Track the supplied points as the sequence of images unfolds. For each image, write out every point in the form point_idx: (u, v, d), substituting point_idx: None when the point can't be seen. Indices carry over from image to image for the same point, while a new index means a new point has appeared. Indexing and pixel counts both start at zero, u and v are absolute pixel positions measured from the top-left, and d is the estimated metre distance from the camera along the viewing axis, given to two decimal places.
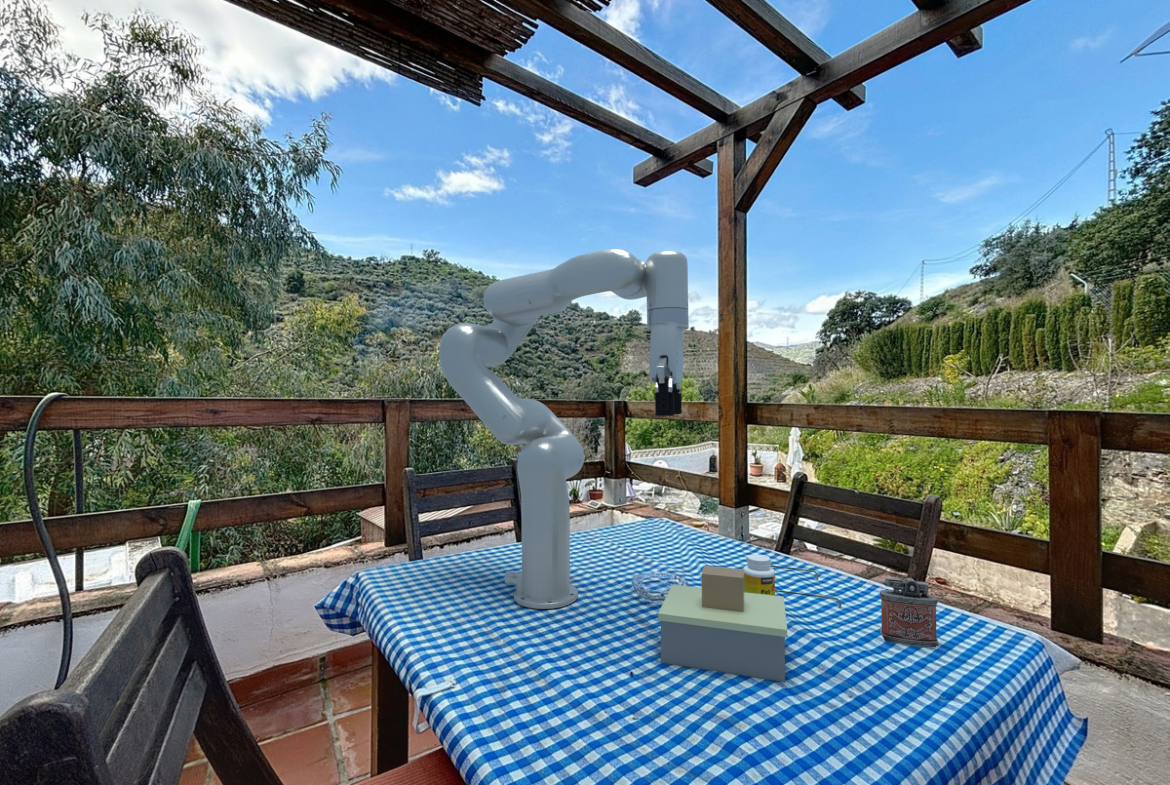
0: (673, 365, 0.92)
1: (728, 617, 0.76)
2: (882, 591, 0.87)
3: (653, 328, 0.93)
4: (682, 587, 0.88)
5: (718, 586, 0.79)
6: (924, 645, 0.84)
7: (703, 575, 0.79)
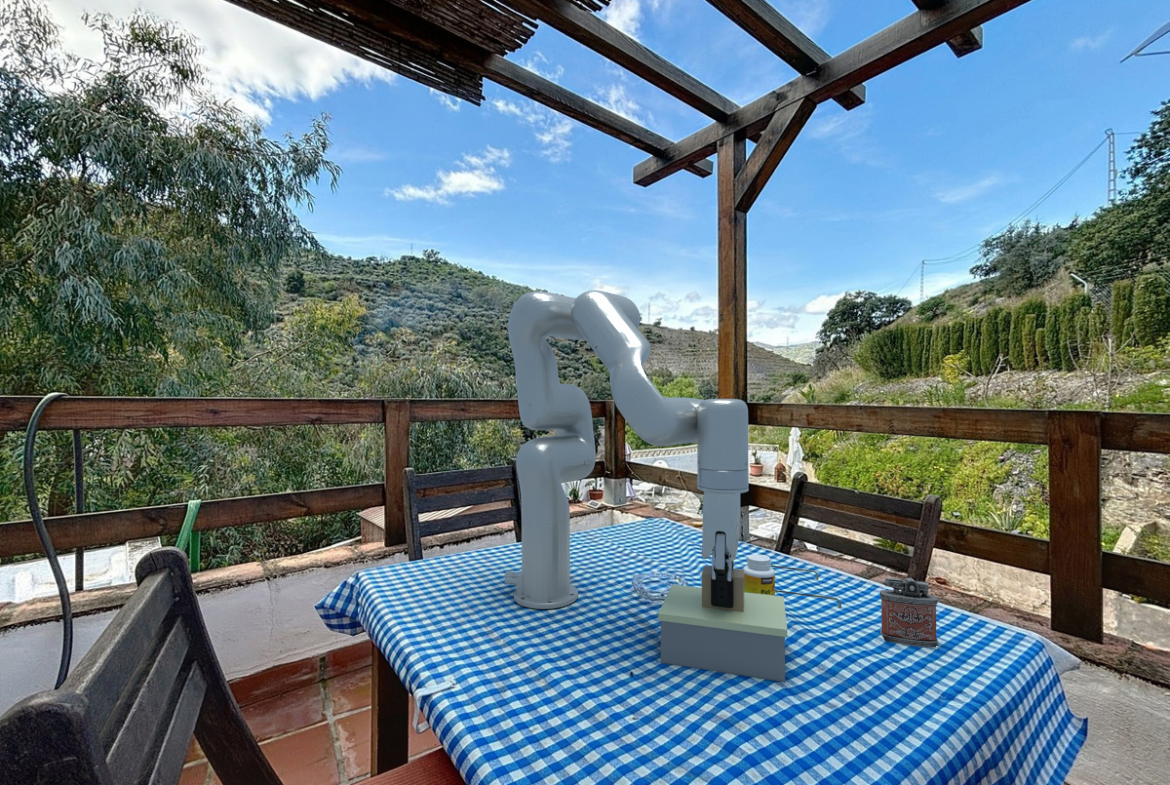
0: (732, 544, 0.75)
1: (728, 617, 0.76)
2: (882, 591, 0.88)
3: (707, 495, 0.77)
4: (682, 587, 0.88)
5: None
6: (924, 645, 0.84)
7: (703, 575, 0.79)
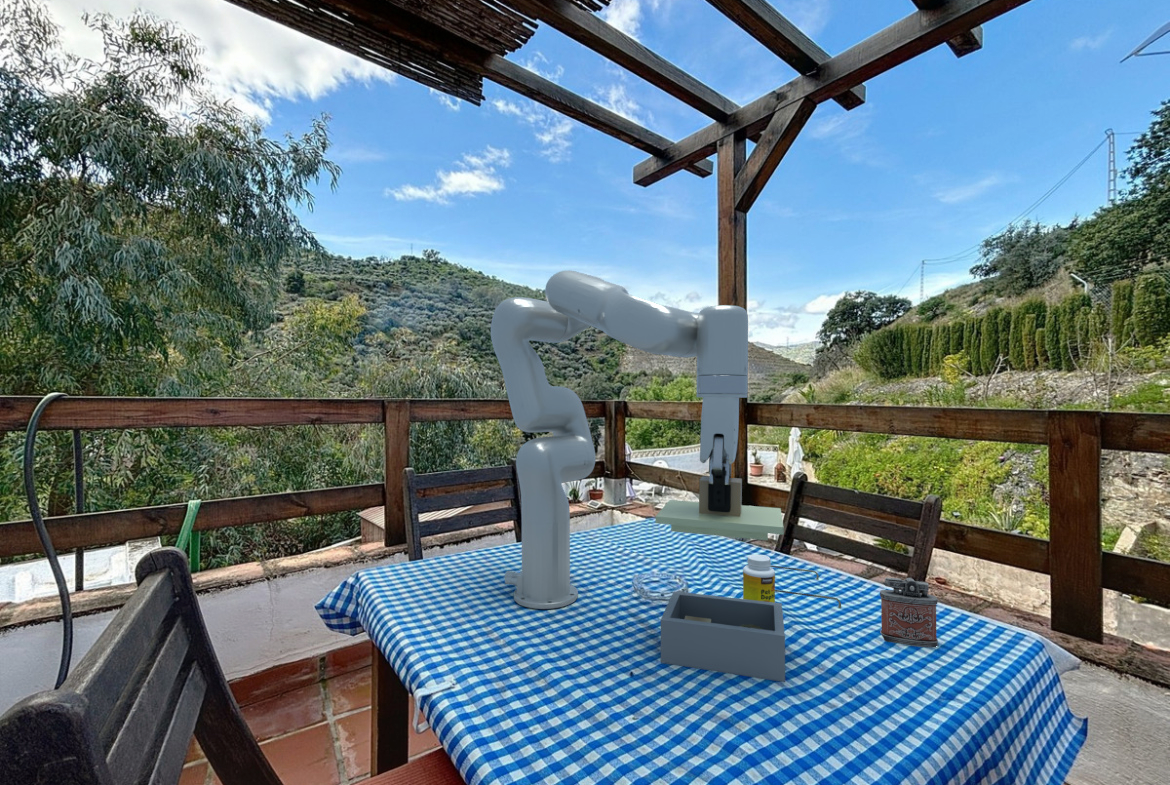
0: (730, 446, 0.76)
1: (725, 519, 0.76)
2: (882, 591, 0.87)
3: (706, 399, 0.77)
4: (680, 501, 0.88)
5: None
6: (924, 645, 0.84)
7: (701, 481, 0.80)
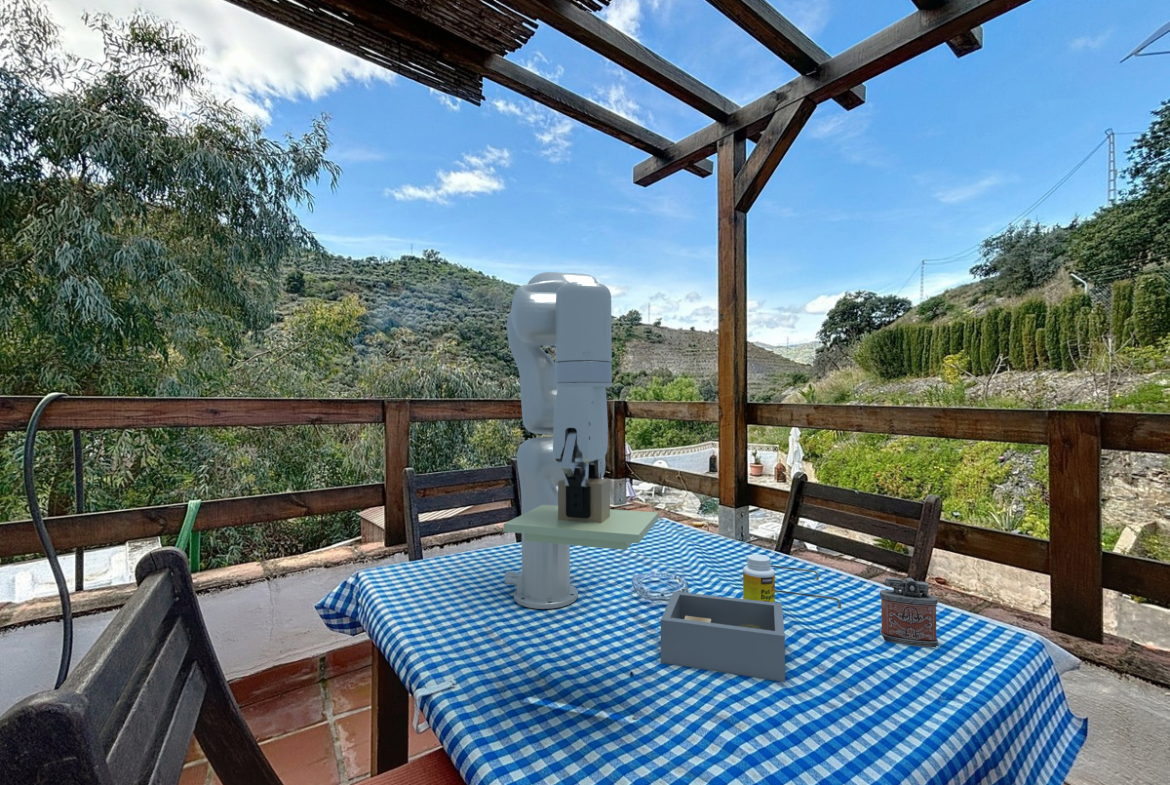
0: (583, 442, 0.66)
1: (580, 526, 0.66)
2: (882, 591, 0.87)
3: (559, 389, 0.68)
4: (551, 506, 0.78)
5: None
6: (924, 645, 0.84)
7: (559, 483, 0.70)
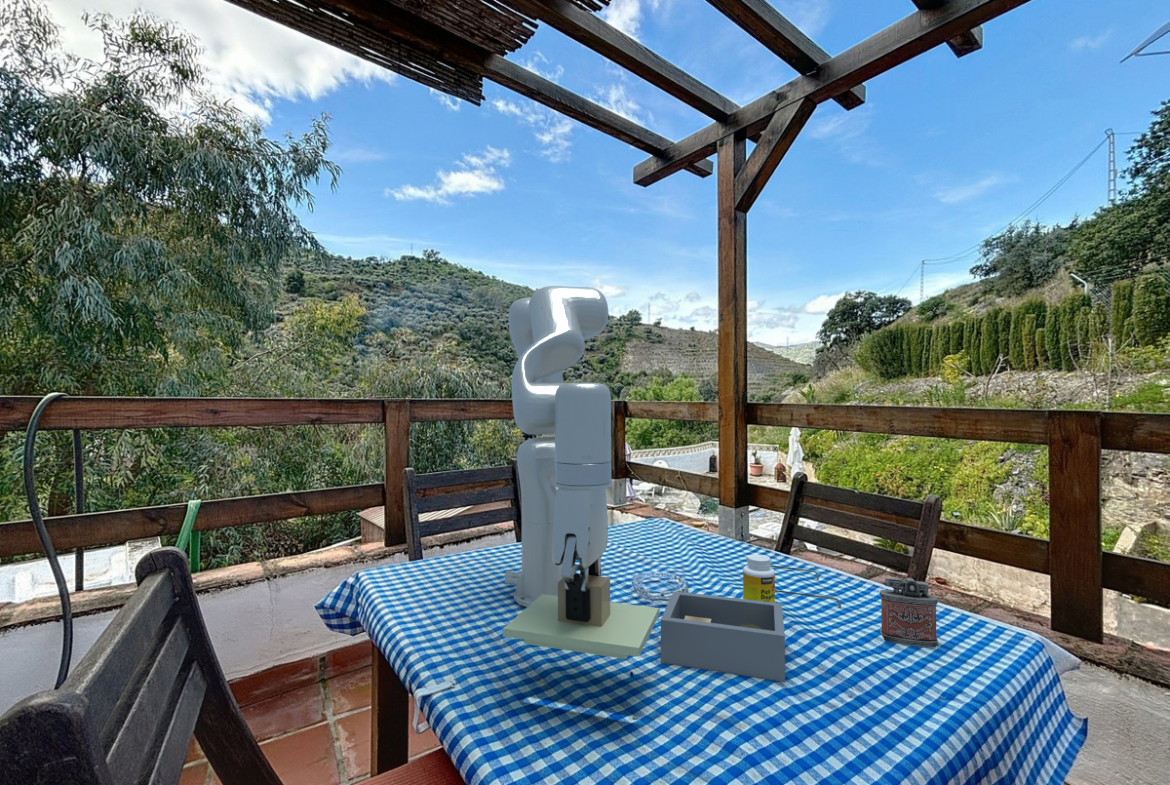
0: (583, 549, 0.65)
1: (579, 633, 0.66)
2: (882, 590, 0.88)
3: (558, 492, 0.67)
4: (551, 597, 0.78)
5: None
6: (924, 645, 0.84)
7: (559, 584, 0.69)
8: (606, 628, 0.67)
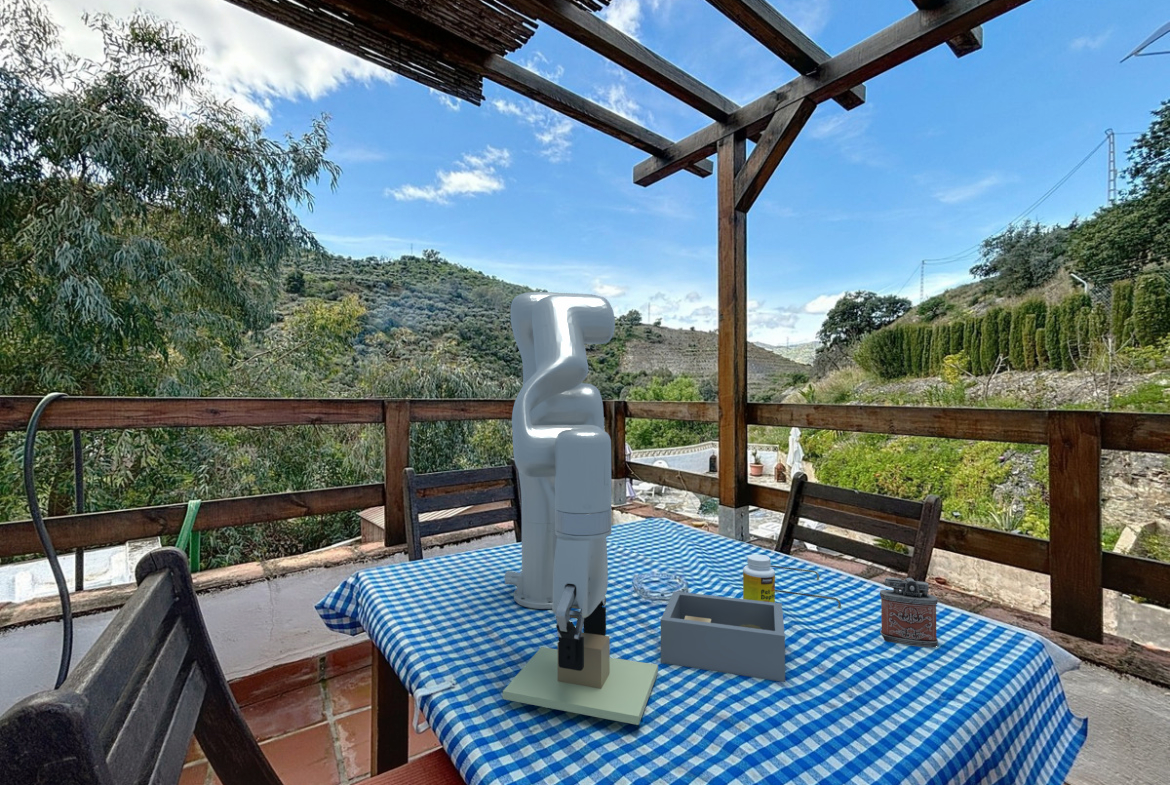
0: (583, 599, 0.66)
1: (579, 697, 0.66)
2: (882, 591, 0.87)
3: (558, 541, 0.67)
4: (550, 651, 0.78)
5: None
6: (924, 645, 0.84)
7: None
8: (606, 691, 0.67)
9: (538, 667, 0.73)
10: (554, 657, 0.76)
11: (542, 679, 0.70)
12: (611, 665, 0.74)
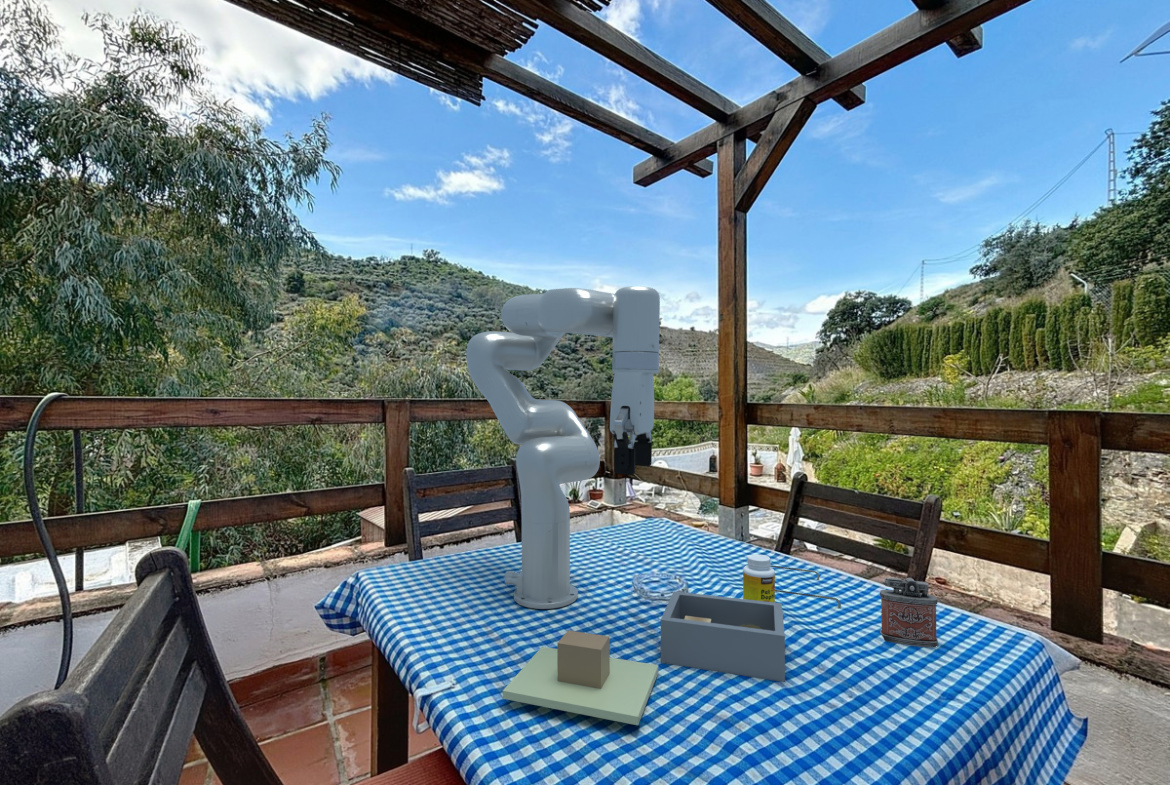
0: (635, 418, 0.81)
1: (579, 697, 0.66)
2: (882, 590, 0.88)
3: (616, 374, 0.83)
4: (551, 651, 0.78)
5: (575, 658, 0.69)
6: (924, 645, 0.84)
7: (559, 645, 0.70)
8: (605, 691, 0.67)
9: (538, 667, 0.73)
10: (554, 657, 0.76)
11: (542, 679, 0.70)
12: (611, 665, 0.74)
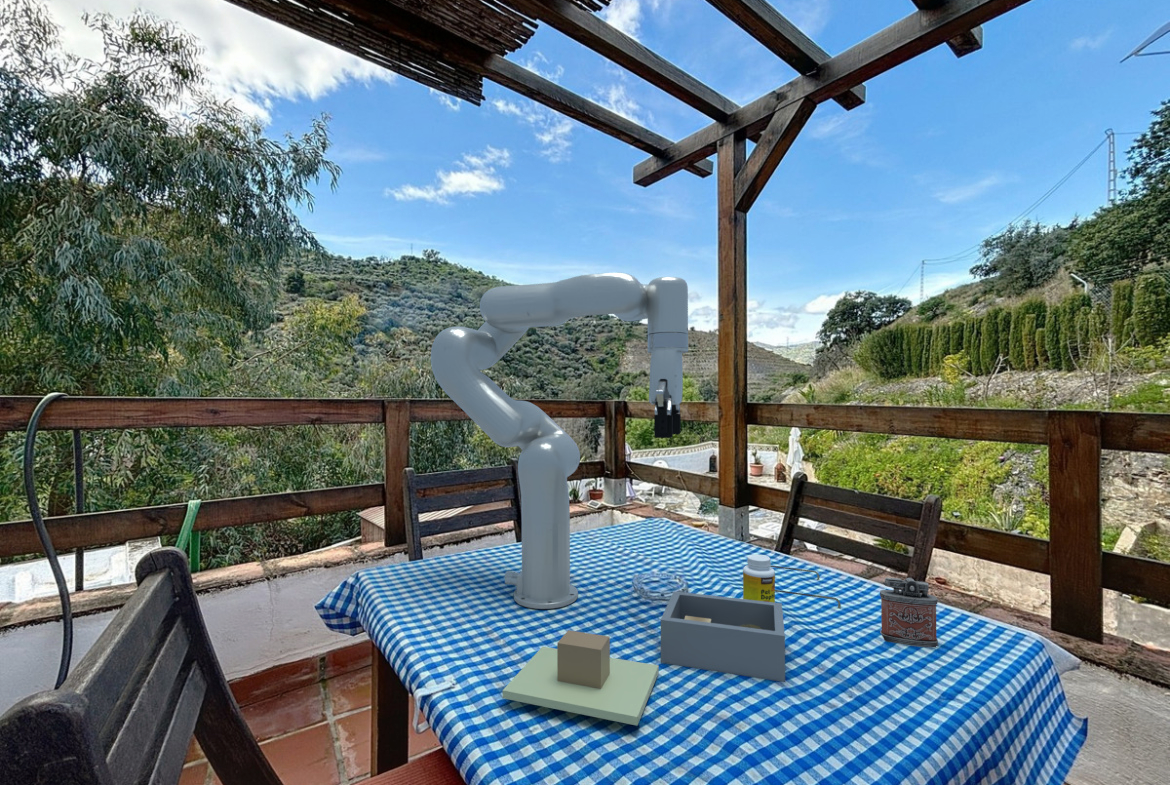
0: (672, 389, 0.94)
1: (579, 697, 0.66)
2: (882, 591, 0.88)
3: (653, 352, 0.96)
4: (551, 651, 0.78)
5: (575, 658, 0.69)
6: (924, 645, 0.84)
7: (559, 644, 0.70)
8: (605, 691, 0.67)
9: (538, 667, 0.73)
10: (555, 657, 0.76)
11: (542, 679, 0.70)
12: (611, 665, 0.74)
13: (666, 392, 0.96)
